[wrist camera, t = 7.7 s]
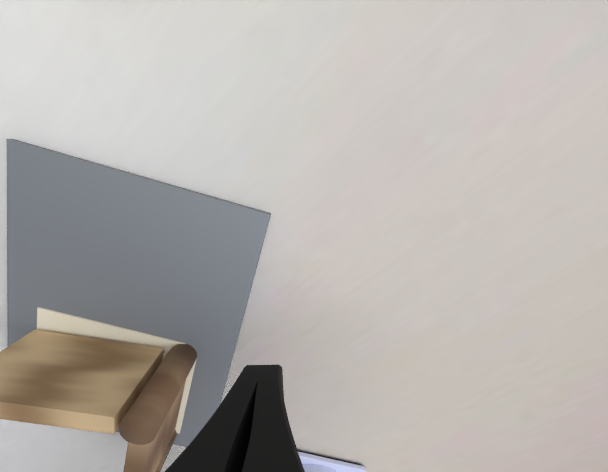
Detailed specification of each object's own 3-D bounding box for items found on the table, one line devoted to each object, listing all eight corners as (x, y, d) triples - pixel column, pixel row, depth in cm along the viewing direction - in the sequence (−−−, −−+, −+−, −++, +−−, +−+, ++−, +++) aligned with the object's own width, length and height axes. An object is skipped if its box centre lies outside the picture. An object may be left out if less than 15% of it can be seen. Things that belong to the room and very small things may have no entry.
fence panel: (163, 347, 20) (103, 430, 14) (162, 363, 21) (104, 450, 15) (32, 328, 20) (-85, 404, 14) (34, 344, 20) (-79, 426, 14)
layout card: (208, 446, 24) (206, 452, 24) (12, 403, 23) (6, 408, 23) (270, 213, 18) (269, 215, 18) (13, 139, 17) (5, 138, 17)
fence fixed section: (178, 441, 24) (136, 535, 18) (153, 435, 23) (104, 528, 18) (199, 346, 21) (158, 421, 15) (171, 340, 21) (120, 412, 15)
